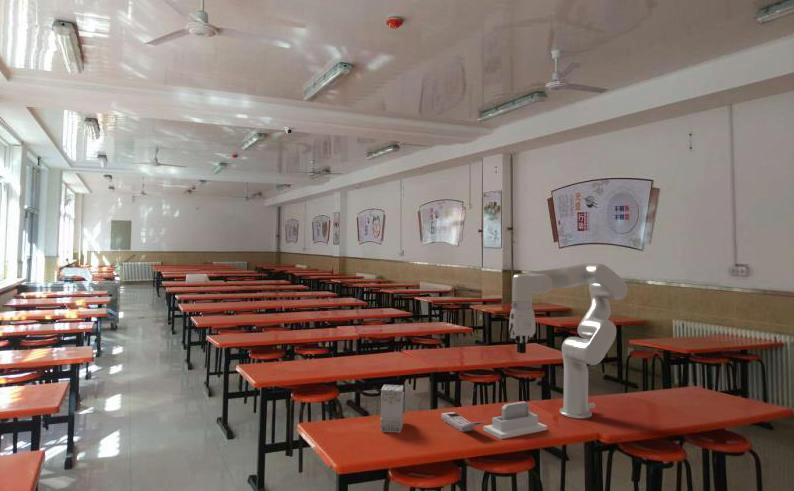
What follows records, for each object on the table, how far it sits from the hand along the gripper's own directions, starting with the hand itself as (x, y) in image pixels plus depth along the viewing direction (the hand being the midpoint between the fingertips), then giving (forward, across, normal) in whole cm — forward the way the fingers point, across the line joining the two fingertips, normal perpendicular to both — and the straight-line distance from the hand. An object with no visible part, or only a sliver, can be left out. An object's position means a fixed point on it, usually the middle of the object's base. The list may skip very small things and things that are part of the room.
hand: (521, 352), depth 198 cm
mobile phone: (+28, -24, +6) cm, 37 cm away
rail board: (+27, -8, -6) cm, 29 cm away
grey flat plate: (+25, -8, -6) cm, 27 cm away
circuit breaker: (+27, -47, +18) cm, 57 cm away
